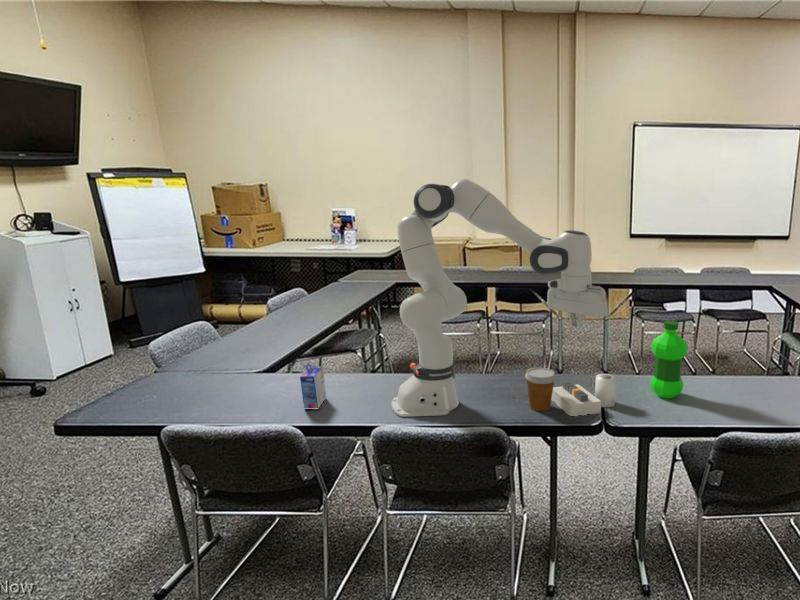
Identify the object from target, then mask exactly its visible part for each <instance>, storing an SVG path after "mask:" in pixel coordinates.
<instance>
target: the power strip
mask: <svg viewBox="0 0 800 600" xmlns="http://www.w3.org/2000/svg"><path fill="white" fill-rule="evenodd" d="M553 401H554V402H555V403H556V404H555V403H554V402H553ZM551 402H553V403H554V404H555V405H557V406H558V407H559V408H560V409H561V408H562V409H563V410H564V411H563V410H562V409H561V410H562V411H563V412H564V413H566V415H568V416H569V415H570V416H575V417H579V416H578V415H582V416H588V415H587V414H590V415H596V414H602V407H601V401H600V400H599V399H598V398H596V397H595V394H592V393H591V392H589V391H588V390H587V389H586V388H584V387H583V386H581V385H580V384H579V383H577V384H574V383H573V382H571V381H569V380H568V381H563V382H562V386H561V385H560V386H557V385H556V384H555V383H554V385H553V392H552V398H551ZM570 416H569V417H570Z"/></svg>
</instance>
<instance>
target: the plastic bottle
mask: <svg viewBox="0 0 800 600" xmlns="http://www.w3.org/2000/svg"><path fill="white" fill-rule="evenodd" d="M679 324H680V323H679V322H678V321H673V320H665V321H663V325H662V326H663V327H662V328H663V329H664V332H663V333H661V334H659V335H658V336H657V337H655V338H654V339H652V342H651V344H650V346H651V347H650V350H651V353H652V354H653V355H654V368H653V376H652V377H651V379H650V381H649V387H650V389H651V390H652V391H653V392H654V393H655V394H656V395H657V397H660V398H663V399H668V400H669V399H674V398H675V397H677V396H679V395H680V394H681V392H682V391H683V389H684V382H683V379H682V377H681V376H682V364H683V359H684V358H685V357H686V355H687V352H688V348H689V346H688V343H687V341H686V340H684V338H682V337H681V336H680V335H679V334H678V333H677V330H679Z"/></svg>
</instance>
